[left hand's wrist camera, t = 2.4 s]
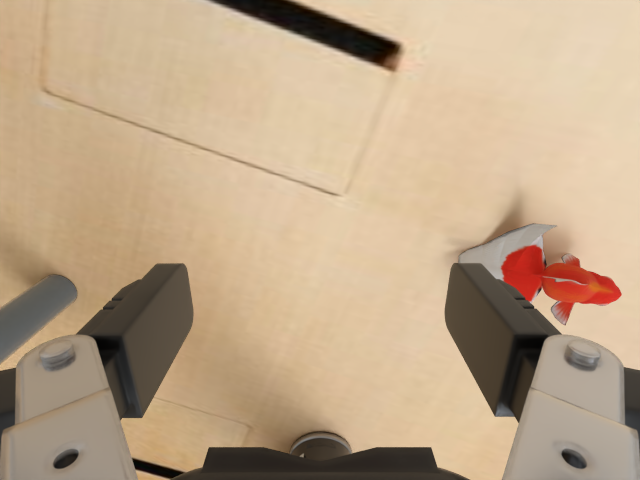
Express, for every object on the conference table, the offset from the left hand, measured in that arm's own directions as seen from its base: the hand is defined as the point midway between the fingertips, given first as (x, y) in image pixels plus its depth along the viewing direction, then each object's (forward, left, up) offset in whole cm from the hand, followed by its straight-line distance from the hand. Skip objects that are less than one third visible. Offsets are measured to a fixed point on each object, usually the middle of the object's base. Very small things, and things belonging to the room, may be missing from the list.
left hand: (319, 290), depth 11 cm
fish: (-13, -23, -29) cm, 40 cm away
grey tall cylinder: (-17, +32, -29) cm, 46 cm away
